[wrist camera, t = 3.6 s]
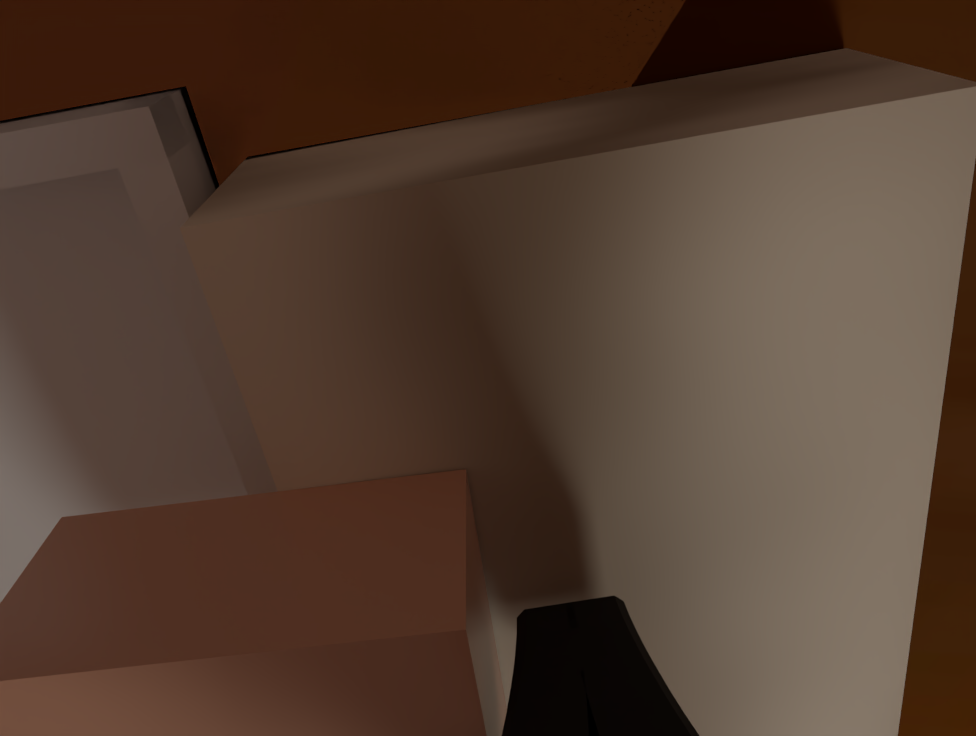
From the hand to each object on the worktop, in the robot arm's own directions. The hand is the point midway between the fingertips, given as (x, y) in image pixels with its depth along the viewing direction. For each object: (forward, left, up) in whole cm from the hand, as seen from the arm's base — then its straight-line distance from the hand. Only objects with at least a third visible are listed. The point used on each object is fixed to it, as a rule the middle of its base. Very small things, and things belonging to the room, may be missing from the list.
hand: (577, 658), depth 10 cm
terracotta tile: (+4, 0, -1) cm, 4 cm away
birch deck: (-1, 0, -4) cm, 4 cm away
